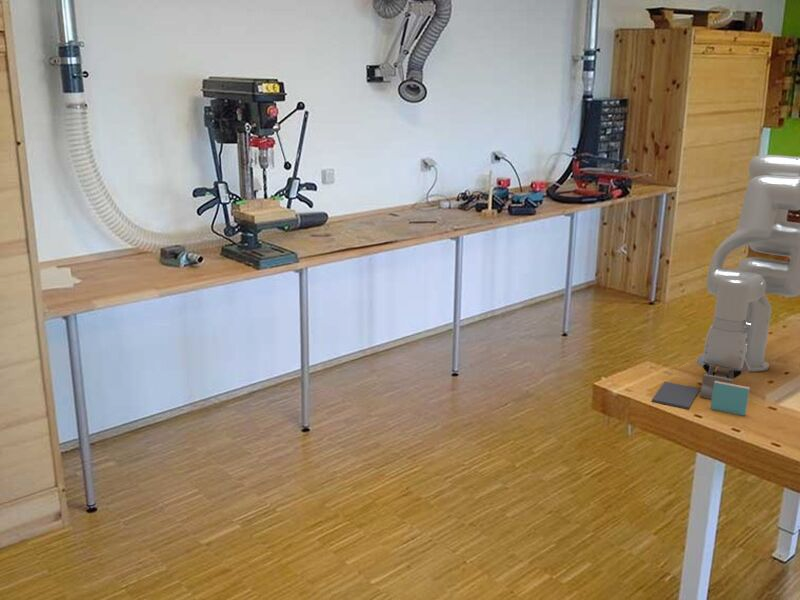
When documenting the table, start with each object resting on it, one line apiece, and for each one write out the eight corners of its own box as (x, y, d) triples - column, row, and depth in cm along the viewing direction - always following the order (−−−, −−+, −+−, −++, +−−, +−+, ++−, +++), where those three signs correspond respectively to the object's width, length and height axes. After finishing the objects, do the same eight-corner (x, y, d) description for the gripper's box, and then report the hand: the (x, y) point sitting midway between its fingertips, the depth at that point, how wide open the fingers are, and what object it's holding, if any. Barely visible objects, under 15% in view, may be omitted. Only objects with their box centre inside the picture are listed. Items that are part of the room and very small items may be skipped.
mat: (664, 383, 211) (664, 381, 211) (699, 390, 207) (699, 388, 207) (651, 401, 198) (651, 399, 198) (688, 409, 194) (689, 407, 194)
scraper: (708, 381, 213) (711, 360, 212) (736, 386, 210) (739, 365, 208) (700, 396, 202) (703, 375, 201) (729, 402, 199) (732, 380, 197)
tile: (711, 406, 196) (715, 380, 195) (745, 413, 193) (749, 387, 191) (710, 408, 195) (714, 382, 193) (744, 415, 191) (749, 389, 189)
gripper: (764, 326, 201) (754, 392, 206) (698, 315, 209) (689, 380, 214) (761, 333, 195) (750, 402, 199) (692, 322, 202) (684, 388, 207)
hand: (719, 390), depth 206 cm, fingers closed on scraper, 3 cm apart
